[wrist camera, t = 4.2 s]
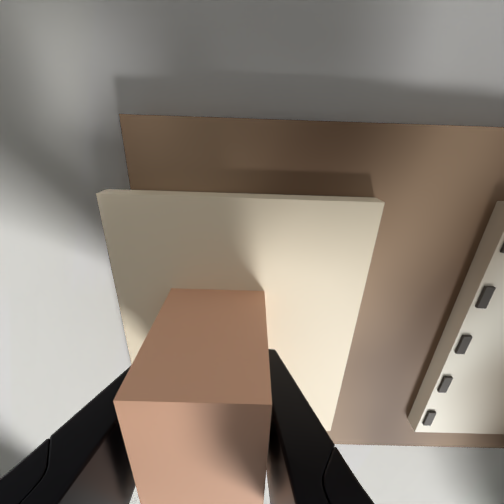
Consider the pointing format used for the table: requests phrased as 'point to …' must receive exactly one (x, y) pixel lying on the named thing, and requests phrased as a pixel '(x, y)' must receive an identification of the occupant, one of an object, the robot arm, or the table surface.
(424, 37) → the table surface
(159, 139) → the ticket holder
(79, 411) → the robot arm
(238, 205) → the stub
